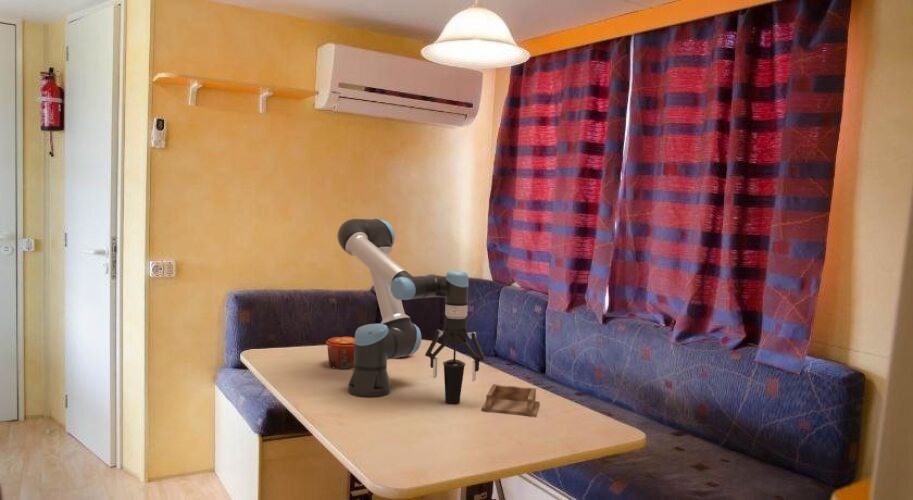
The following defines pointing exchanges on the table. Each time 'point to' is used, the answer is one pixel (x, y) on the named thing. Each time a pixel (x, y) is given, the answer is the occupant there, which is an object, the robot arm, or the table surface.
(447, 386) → the drinking cup
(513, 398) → the u rest
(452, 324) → the robot arm
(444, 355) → the table surface
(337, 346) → the food container
